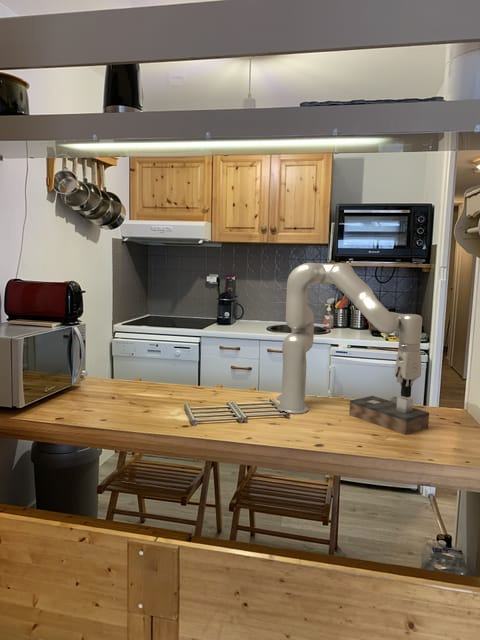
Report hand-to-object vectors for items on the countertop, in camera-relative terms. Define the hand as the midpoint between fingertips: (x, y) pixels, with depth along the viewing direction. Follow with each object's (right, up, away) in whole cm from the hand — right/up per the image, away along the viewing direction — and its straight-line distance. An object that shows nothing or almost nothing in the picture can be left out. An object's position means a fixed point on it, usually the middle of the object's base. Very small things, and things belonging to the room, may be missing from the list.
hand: (405, 396), depth 180 cm
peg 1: (-9, -10, +13) cm, 18 cm away
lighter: (+5, -9, +24) cm, 26 cm away
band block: (-5, -11, +7) cm, 14 cm away
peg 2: (0, -7, +1) cm, 7 cm away
